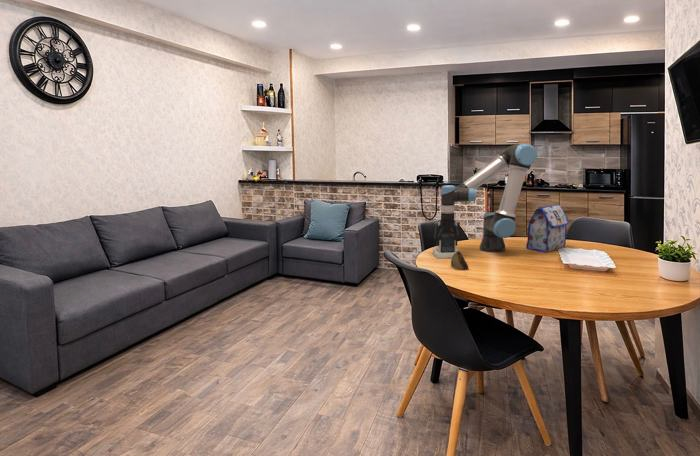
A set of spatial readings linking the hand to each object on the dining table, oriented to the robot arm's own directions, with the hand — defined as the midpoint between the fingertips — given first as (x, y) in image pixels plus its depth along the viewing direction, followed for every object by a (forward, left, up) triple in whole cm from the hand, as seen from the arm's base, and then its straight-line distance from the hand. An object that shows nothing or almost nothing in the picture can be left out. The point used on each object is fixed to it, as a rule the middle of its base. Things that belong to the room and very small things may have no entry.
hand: (446, 251), depth 264 cm
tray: (0, 0, -3) cm, 3 cm away
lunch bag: (-64, -15, -3) cm, 66 cm away
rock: (-1, +27, -3) cm, 28 cm away
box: (0, 0, -1) cm, 1 cm away
